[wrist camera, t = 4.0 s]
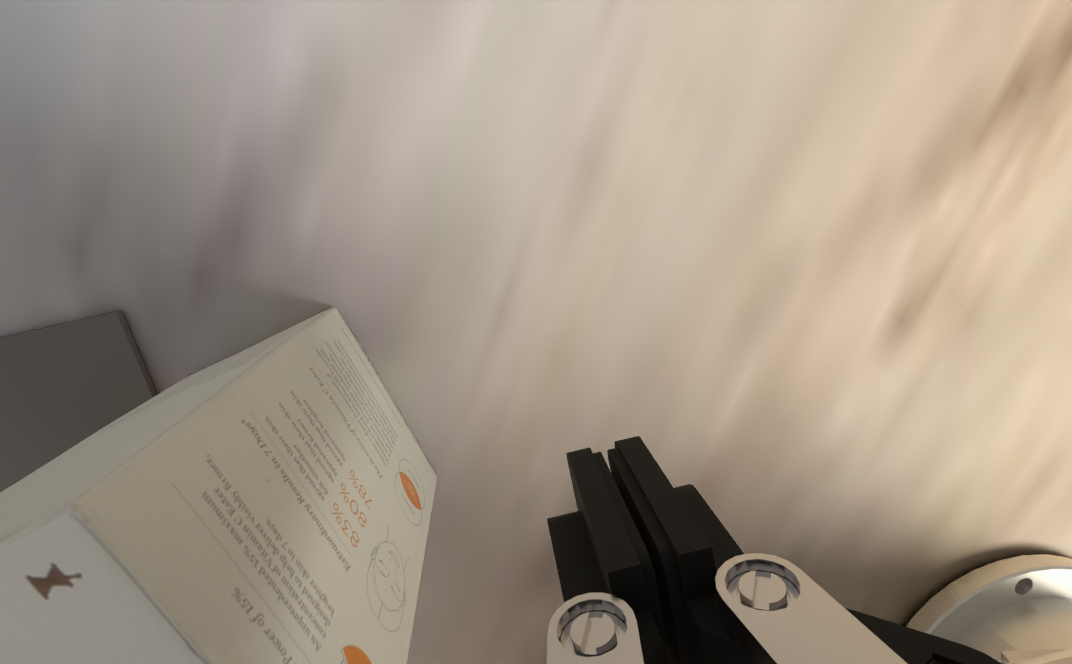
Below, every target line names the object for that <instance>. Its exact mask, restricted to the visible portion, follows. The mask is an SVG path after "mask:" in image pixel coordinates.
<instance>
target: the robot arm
mask: <svg viewBox="0 0 1072 664" xmlns="http://www.w3.org/2000/svg"><path fill="white" fill-rule="evenodd" d="M607 452H608V459H609V464H610V470H611V472H610V470H609V468H608V466H607V464H606V462H605V460H604V457H603V455H602V453H601V452H597V453H592V451H591V449H590V448H586V449H582V450H578V451H573V452H569V453H567V460H568V465H569V469H570V474H571V479H572V484H573V489H574V493H575V498H576V503H577V508H578V511H577V512H573V513H569V514H565V515H561V516H556V517H552V518H548V519H547V521H548V526H549V531H550V536H551V540H552V545H553V550H554V555H555V560H556V565H557V569H558V574H559V579H560V584H561V589H562V594H563V598H564V604H562V605H561V606H560V607H559V608H558V609H557V610H556V611H555V613H554V614H553V616H552V618H551V619H550V622H549V626H548V631H547V657H546V664H1072V559H1070V558H1068V557H1062V556H1055V555H1049V554H1039V555H1022V556H1017V557H1012V558H1008V559H1003V560H998V561H995V562H993V563H990V564H987V565H985V566H982V567H980V568H977V569H975V570H973V571H971V572H969V573H967V574H965V575H964V576H962V577H960V578H958V579H957V580H955V581H953V582H951V583H950V584H949V585H947V586H946V587H945V588H943V589H942V590H941V591H939V592H938V593H937V594H936V595H934V596H933V597H932V598H931V599H930V600H929V601H928V602H927V603H926V604H925V605H924V606H923V607H922V608H921V609H920V610H919V611H918V612H917V613H916V614H915V615H914V616H913V617H912V619H911V620H910V621H909V623H908V624H907V626H906V627H905V626H902V625H899V624H895V623H892V622H889V621H886V620H882V619H879V618H876V617H873V616H870V615H866V614H863V613H860V612H857V611H854V610H850V609H847V608H844V607H843V606H842V605H841V604H839V603H838V602H837V601H836V600H835V599H834V598H833V597H832V596H830V595H829V594H828V593H827V592H826V591H825V590H824V589H822V588H821V587H820V586H819V585H818V584H817V583H816V582H815V581H813V580H812V579H811V578H810V577H809V576H808V575H807V574H805V573H804V572H803V571H802V570H801V569H800V568H798V567H797V566H795V565H794V564H792V563H791V562H790V561H788V560H785V559H783V558H780V557H778V556H775V555H769V554H764V553H747V554H744V553H743V552H742V551H741V549H740V548H739V547H738V545H737V544H736V542H735V541H734V540H733V538H732V537H731V536H730V534H729V533H728V532H727V530H726V529H725V528H724V526H723V525H722V523H721V522H720V521H719V519H718V518H717V517H716V515H715V514H714V513H713V511H712V510H711V509H710V507H709V506H708V504H707V503H706V502H705V500H704V499H703V498H702V496H701V495H700V494H699V492H698V491H697V490H696V488H695V487H694V486H693V485H691V484H689V485H685V486H680V487H676V488H673V487H672V485H671V483H670V482H669V480H668V479H667V477H666V476H665V474H664V473H663V471H662V470H661V468H660V467H659V465H658V464H657V462H656V461H655V459H654V458H653V456H652V455H651V453H650V452H649V450H648V449H647V447H646V446H645V444H644V443H643V441H642V440H641V438H640V437H639V436H637V437H633V438H628V439H624V440H620V441H616V442H615V448H614V449H610V450H608V451H607Z"/></svg>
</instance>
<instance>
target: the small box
mask: <svg viewBox="0 0 1072 664" xmlns="http://www.w3.org/2000/svg"><path fill="white" fill-rule="evenodd" d="M436 485H437V476H436V474H435V472H434V471H433V469H432V467H431V466H430V464H429V462H428V460H427V459H426V457H425V455H424V454H423V452H422V450H421V448H420V447H419V445H418V443H417V442H416V440H415V438H414V437H413V435H412V433H411V431H410V430H409V428H408V426H407V425H406V423H405V421H404V420H403V418H402V416H401V415H400V413H399V411H398V410H397V408H396V406H395V405H394V403H393V401H392V400H391V398H390V396H389V394H388V393H387V391H386V389H385V388H384V386H383V384H382V383H381V381H380V379H379V378H378V376H377V374H376V373H375V371H374V369H373V368H372V366H371V364H370V363H369V361H368V359H367V358H366V356H365V354H364V353H363V351H362V349H361V348H360V346H359V344H358V343H357V341H356V339H355V338H354V336H353V334H352V333H351V331H350V330H349V328H348V326H347V325H346V323H345V321H344V320H343V318H342V316H341V315H340V313H339V312H338V310H337V309H336V308H335V307H331V308H329V309H327V310H325V311H323V312H321V313H319V314H317V315H315V316H313V317H311V318H308V319H306V320H304V321H302V322H300V323H298V324H296V325H294V326H292V327H290V328H288V329H286V330H284V331H282V332H280V333H277V334H275V335H273V336H271V337H269V338H267V339H265V340H263V341H261V342H259V343H257V344H255V345H253V346H251V347H249V348H247V349H244V350H242V351H240V352H238V353H236V354H234V355H232V356H230V357H228V358H226V359H223V360H221V361H219V362H217V363H215V364H213V365H211V366H209V367H207V368H204V369H202V370H200V371H198V372H196V373H194V374H192V375H190V376H188V377H186V378H184V379H182V380H180V381H179V382H177V383H176V384H174V385H172V386H171V387H169V388H168V389H166V390H164V391H163V392H161V393H159V394H158V395H156V396H154V397H153V398H151V399H150V400H148V401H146V402H145V403H143V404H141V405H140V406H138V407H137V408H135V409H133V410H132V411H130V412H128V413H127V414H125V415H123V416H122V417H120V418H118V419H116V420H115V421H113V422H112V423H110V424H108V425H107V426H105V427H104V428H102V429H100V430H99V431H97V432H95V433H94V434H92V435H91V436H89V437H88V438H86V439H84V440H83V441H81V442H80V443H78V444H77V445H75V446H73V447H72V448H70V449H69V450H67V451H66V452H64V453H63V454H61V455H59V456H58V457H56V458H55V459H53V460H52V461H50V462H49V463H47V464H45V465H44V466H42V467H40V468H39V469H37V470H36V471H34V472H33V473H31V474H29V475H28V476H26V477H25V478H23V479H22V480H20V481H18V482H17V483H15V484H14V485H12V486H10V487H9V488H7V489H5V490H4V491H2V492H0V664H407V661H408V655H409V649H410V642H411V636H412V630H413V624H414V618H415V612H416V606H417V600H418V594H419V588H420V581H421V575H422V569H423V563H424V557H425V551H426V545H427V539H428V533H429V526H430V520H431V514H432V508H433V502H434V496H435V490H436Z"/></svg>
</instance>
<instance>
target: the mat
mask: <svg viewBox="0 0 1072 664" xmlns="http://www.w3.org/2000/svg"><path fill="white" fill-rule="evenodd" d="M156 395H158V394H157V392H156V390H155V387H154V385H153V383H152V380H151V378H150V376H149V373H148V371H147V368H146V366H145V364H144V361H143V359H142V357H141V354H140V352H139V350H138V347H137V345H136V343H135V340H134V338H133V336H132V333H131V331H130V329H129V326H128V324H127V321H126V319H125V317H124V314H123V312H122V311H118V312H113V313H109V314H104V315H100V316H95V317H91V318H86V319H82V320H77V321H73V322H68V323H64V324H59V325H55V326H50V327H46V328H41V329H37V330H32V331H28V332H23V333H19V334H14V335H10V336H5V337H1V338H0V492H2V491H4V490H5V489H7V488H9V487H10V486H12V485H14V484H15V483H17V482H18V481H20V480H22V479H23V478H25V477H26V476H28V475H29V474H31V473H33V472H34V471H36V470H37V469H39V468H40V467H42V466H44V465H45V464H47V463H49V462H50V461H52V460H53V459H55V458H56V457H58V456H59V455H61V454H63V453H64V452H66V451H67V450H69V449H70V448H72V447H73V446H75V445H77V444H78V443H80V442H81V441H83V440H84V439H86V438H88V437H89V436H91V435H92V434H94V433H95V432H97V431H99V430H100V429H102V428H104V427H105V426H107V425H108V424H110V423H112V422H113V421H115V420H116V419H118V418H120V417H122V416H123V415H125V414H127V413H128V412H130V411H132V410H133V409H135V408H137V407H138V406H140V405H141V404H143V403H145V402H146V401H148V400H150V399H151V398H153V397H154V396H156Z"/></svg>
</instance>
